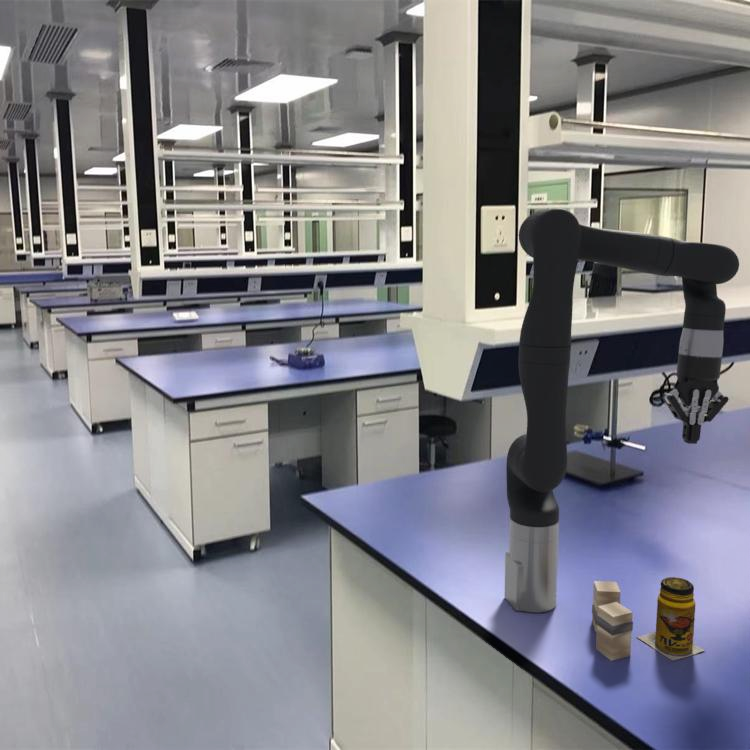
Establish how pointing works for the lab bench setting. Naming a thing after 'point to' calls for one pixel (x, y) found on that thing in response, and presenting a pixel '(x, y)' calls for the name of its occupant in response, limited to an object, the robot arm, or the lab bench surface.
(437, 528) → the lab bench surface
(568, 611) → the lab bench surface
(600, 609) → the banded post
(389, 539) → the lab bench surface
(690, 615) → the condiment
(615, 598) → the banded post
